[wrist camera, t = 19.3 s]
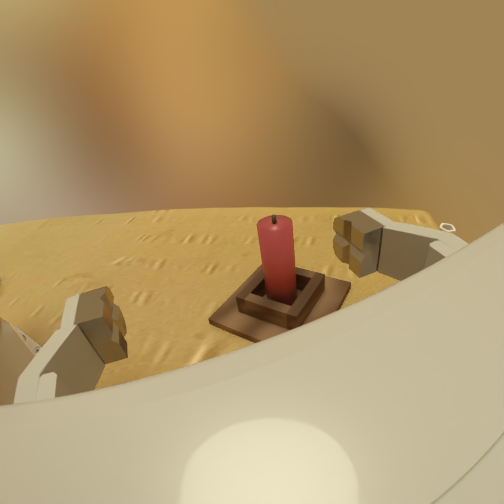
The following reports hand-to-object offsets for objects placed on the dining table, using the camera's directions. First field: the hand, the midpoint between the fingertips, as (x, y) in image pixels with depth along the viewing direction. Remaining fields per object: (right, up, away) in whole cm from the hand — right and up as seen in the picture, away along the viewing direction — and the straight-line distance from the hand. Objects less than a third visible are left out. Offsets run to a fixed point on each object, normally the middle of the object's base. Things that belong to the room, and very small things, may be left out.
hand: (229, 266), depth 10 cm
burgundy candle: (+5, -7, +34) cm, 35 cm away
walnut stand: (+5, -8, +34) cm, 36 cm away
